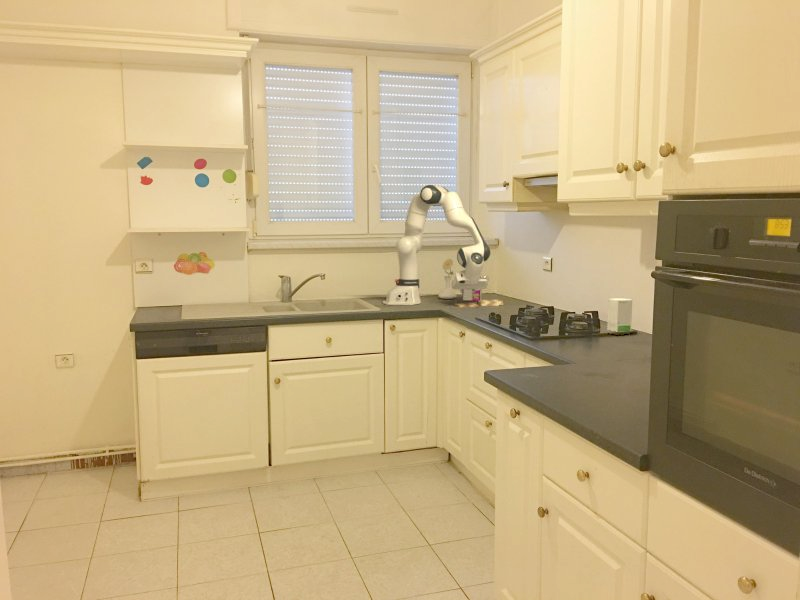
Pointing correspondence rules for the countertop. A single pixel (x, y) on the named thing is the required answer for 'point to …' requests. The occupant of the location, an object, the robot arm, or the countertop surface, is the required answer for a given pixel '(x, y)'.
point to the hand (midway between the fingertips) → (467, 292)
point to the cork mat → (467, 305)
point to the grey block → (467, 294)
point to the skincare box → (619, 314)
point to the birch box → (490, 302)
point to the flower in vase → (447, 281)
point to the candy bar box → (475, 295)
